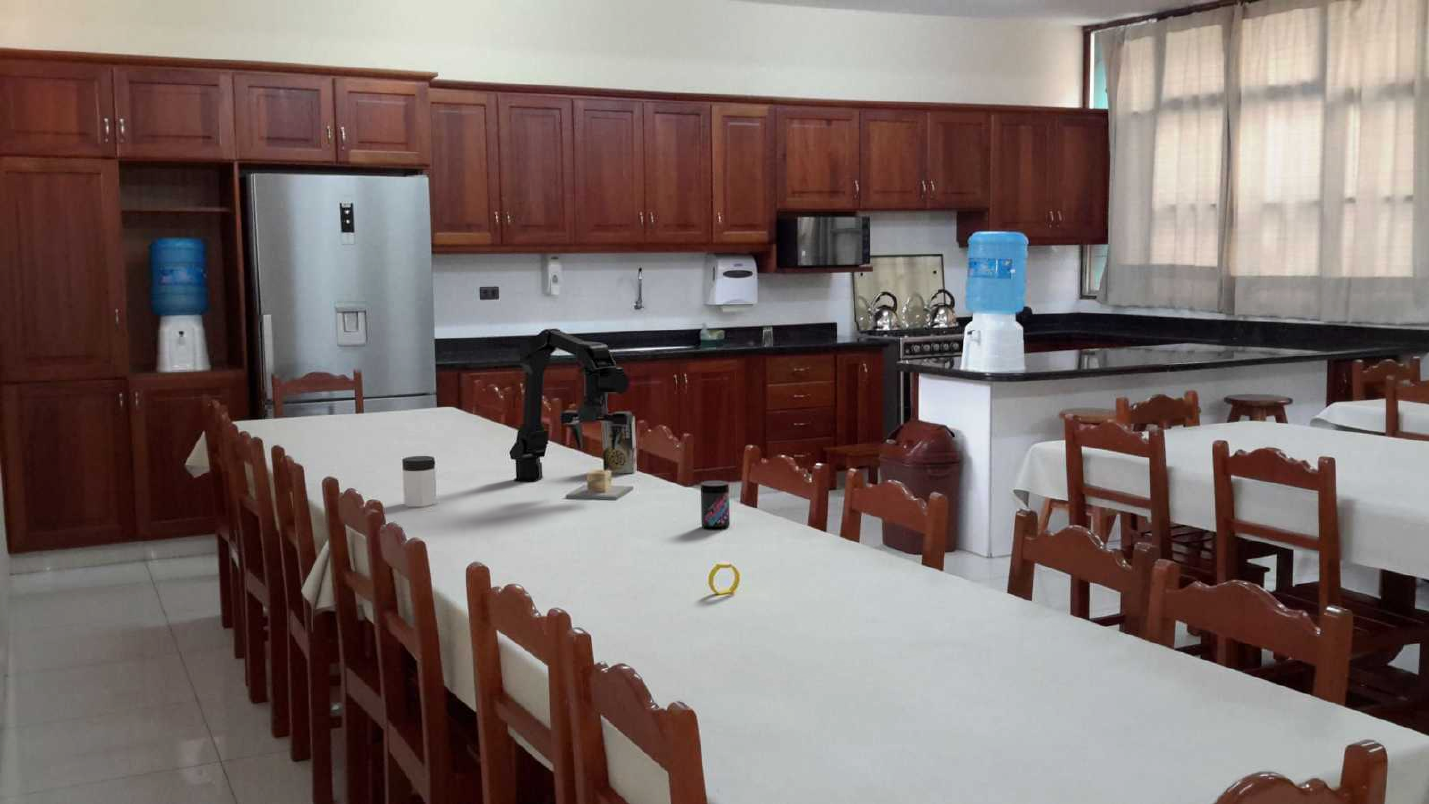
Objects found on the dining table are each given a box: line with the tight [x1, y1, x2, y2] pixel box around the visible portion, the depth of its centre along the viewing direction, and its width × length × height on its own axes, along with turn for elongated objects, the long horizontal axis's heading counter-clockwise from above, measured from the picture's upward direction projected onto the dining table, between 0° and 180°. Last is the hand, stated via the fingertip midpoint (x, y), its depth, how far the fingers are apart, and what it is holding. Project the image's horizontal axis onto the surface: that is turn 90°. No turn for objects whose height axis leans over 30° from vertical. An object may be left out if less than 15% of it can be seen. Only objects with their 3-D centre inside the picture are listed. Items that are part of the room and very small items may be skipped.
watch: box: [708, 560, 741, 596], centre depth 236 cm, size 6×3×6 cm, turn 117°
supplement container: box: [699, 480, 731, 531], centre depth 290 cm, size 7×7×10 cm
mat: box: [565, 484, 634, 501], centre depth 332 cm, size 14×14×1 cm
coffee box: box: [600, 415, 638, 474], centre depth 363 cm, size 9×6×16 cm
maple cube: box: [586, 469, 613, 492], centre depth 332 cm, size 5×5×5 cm
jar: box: [401, 455, 438, 508], centre depth 323 cm, size 9×8×12 cm
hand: (597, 449), depth 332 cm, fingers open, 9 cm apart
